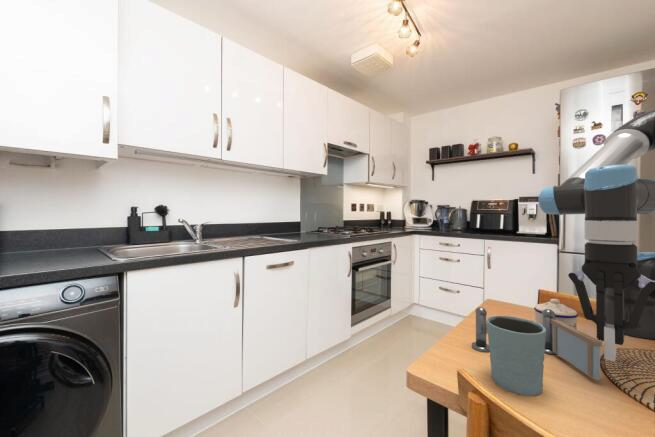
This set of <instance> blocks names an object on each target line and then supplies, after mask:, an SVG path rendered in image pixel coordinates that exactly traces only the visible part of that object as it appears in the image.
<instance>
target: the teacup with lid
mask: <svg viewBox="0 0 655 437" xmlns="http://www.w3.org/2000/svg"><path fill="white" fill-rule="evenodd" d="M533 309H534V318H535V319H534V322H536V323H538V324H540V325H542V326H543V315H542V311H543V310H545V309H550V310H552V311H553V312H554V313H555V320H559V321H561V322H563V323H565V324H567V325H569V326H571V327H573V328H575V329H577V330H578V327H577V326H578V324H577V323H578V322H577V321H578V320H577V319H578V316H579V315H578V312H577V311H576V310H575V309H573V308H571V307H568V306H567V305H565V304H563V303H561V300H559V299H558V298H550V300H549V301H547V302H544V303H537V304H536V305H534V308H533Z"/></svg>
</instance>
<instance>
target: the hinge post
mask: <svg viewBox="0 0 655 437" xmlns="http://www.w3.org/2000/svg"><path fill="white" fill-rule="evenodd" d="M542 315H543V327H544V328H545V329H546V339H545V353H544V354H547V355H549V356H550V355H551V356H559V355H558V354H556V353H554V352H553V324H551V319H552V320H555V313H554V312H553V311H552V310H550V309H545V310H543V311H542Z"/></svg>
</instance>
